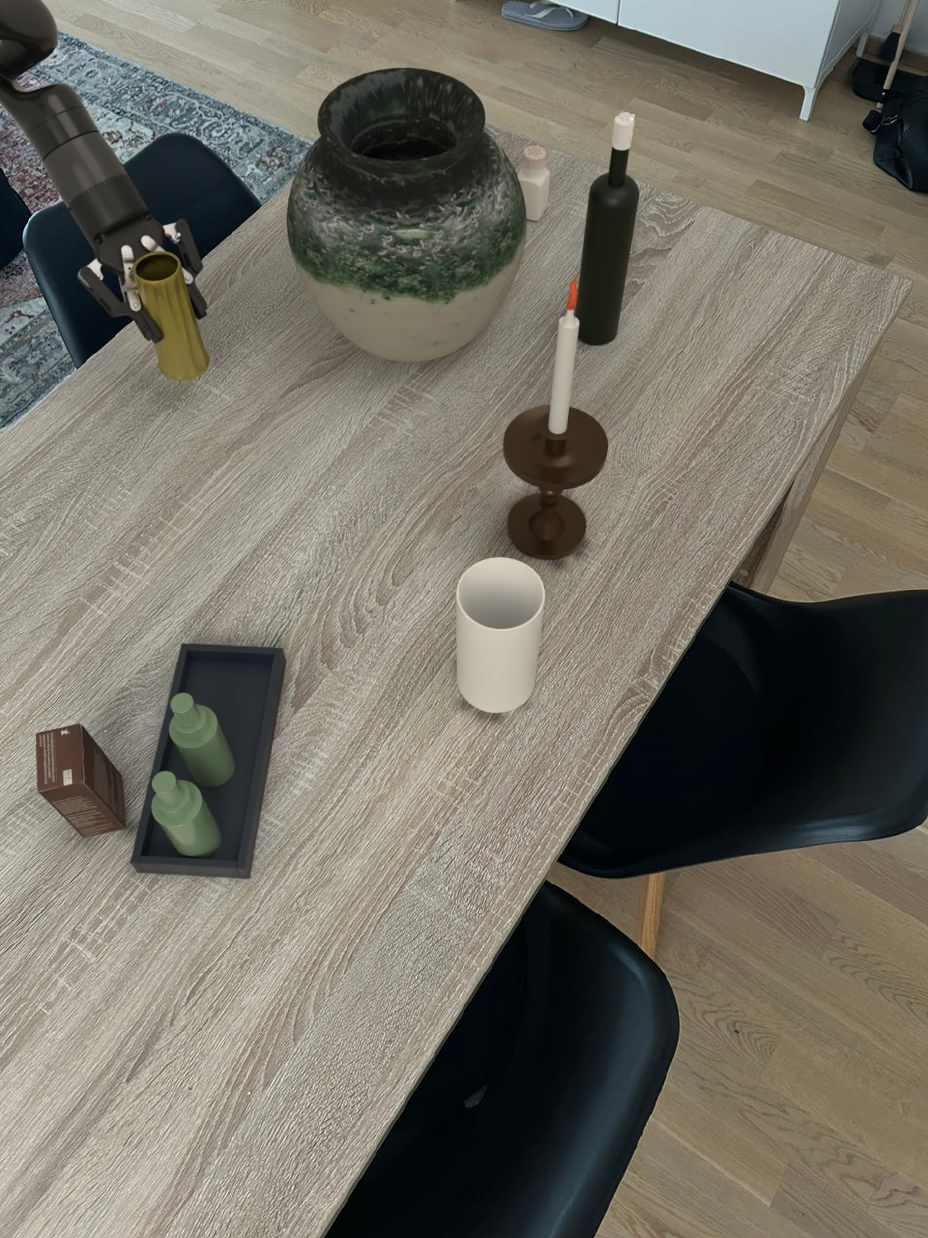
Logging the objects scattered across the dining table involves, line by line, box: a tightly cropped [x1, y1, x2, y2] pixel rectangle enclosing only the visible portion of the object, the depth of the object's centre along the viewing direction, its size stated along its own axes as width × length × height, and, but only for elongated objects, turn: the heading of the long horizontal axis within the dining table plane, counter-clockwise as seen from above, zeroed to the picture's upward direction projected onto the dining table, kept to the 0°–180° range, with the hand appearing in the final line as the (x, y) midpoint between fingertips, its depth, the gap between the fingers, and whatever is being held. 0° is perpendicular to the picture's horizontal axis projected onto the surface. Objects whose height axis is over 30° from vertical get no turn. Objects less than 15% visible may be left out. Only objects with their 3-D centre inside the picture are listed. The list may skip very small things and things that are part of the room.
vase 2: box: [286, 67, 528, 363], centre depth 124 cm, size 28×28×30 cm
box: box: [35, 722, 126, 839], centre depth 96 cm, size 6×4×12 cm
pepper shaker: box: [517, 144, 551, 222], centre depth 146 cm, size 4×4×10 cm
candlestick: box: [502, 276, 609, 561], centre depth 105 cm, size 11×11×35 cm
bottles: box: [151, 693, 235, 859], centre depth 95 cm, size 4×12×14 cm, turn 177°
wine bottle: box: [574, 110, 640, 346], centre depth 124 cm, size 6×6×30 cm
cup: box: [455, 556, 546, 714], centre depth 102 cm, size 8×8×16 cm
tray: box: [129, 642, 287, 880], centre depth 103 cm, size 11×24×3 cm, turn 177°
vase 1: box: [133, 250, 211, 382], centre depth 119 cm, size 6×6×14 cm
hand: (180, 328), depth 119 cm, fingers closed on vase 1, 5 cm apart
